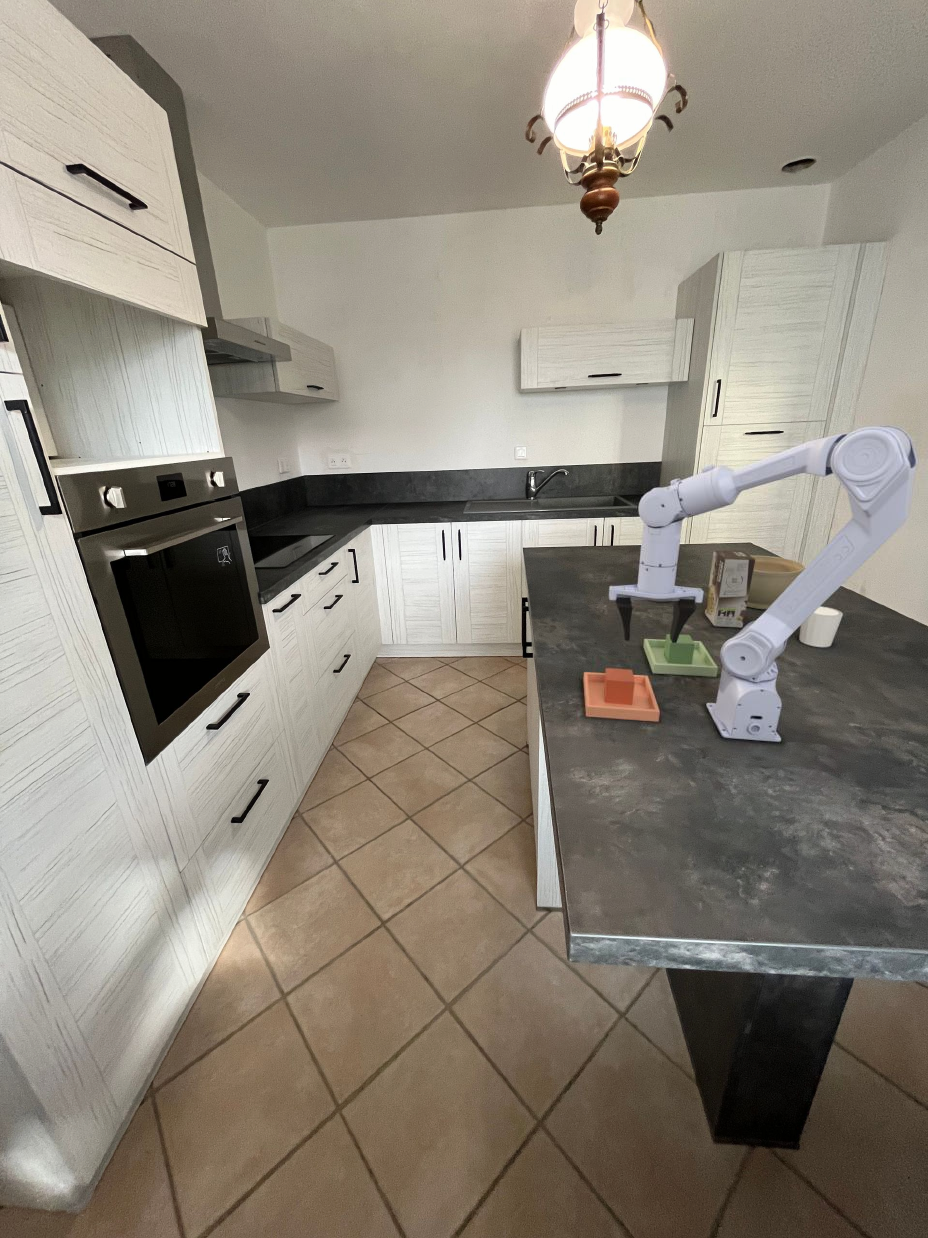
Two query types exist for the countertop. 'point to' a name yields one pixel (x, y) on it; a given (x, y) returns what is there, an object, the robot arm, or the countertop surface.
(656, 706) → the terracotta tray
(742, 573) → the coffee box
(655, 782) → the countertop surface
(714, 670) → the sage tray
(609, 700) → the terracotta block
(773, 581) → the planter bowl
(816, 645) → the white cup
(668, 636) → the sage block
